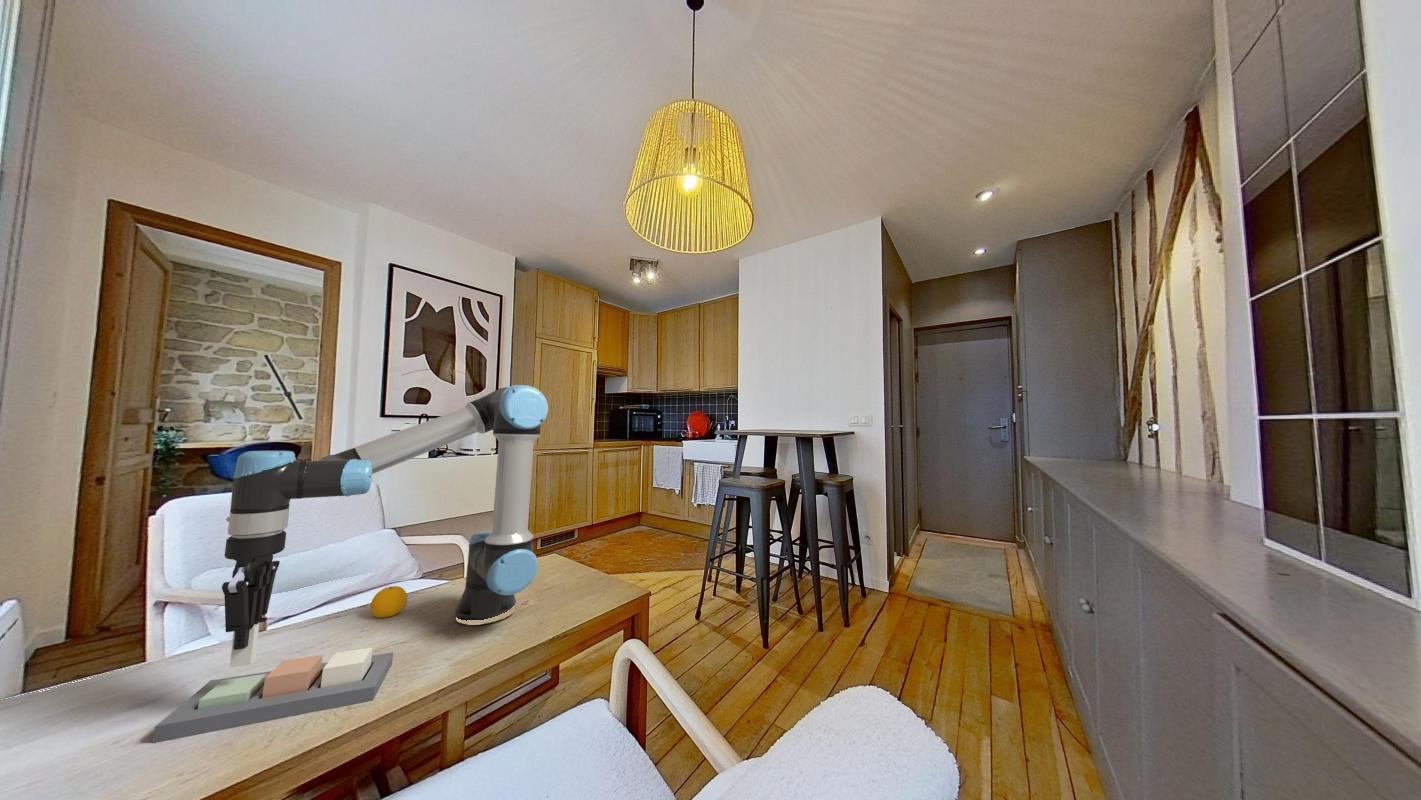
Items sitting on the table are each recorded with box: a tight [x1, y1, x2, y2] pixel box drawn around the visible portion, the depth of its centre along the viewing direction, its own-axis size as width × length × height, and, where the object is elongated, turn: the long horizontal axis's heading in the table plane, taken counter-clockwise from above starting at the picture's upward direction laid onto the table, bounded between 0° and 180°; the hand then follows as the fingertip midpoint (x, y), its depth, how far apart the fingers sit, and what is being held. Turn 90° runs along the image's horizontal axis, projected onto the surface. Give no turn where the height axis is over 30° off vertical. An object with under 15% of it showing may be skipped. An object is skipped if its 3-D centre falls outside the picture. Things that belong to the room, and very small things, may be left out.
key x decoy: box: [262, 654, 324, 698], centre depth 76 cm, size 6×6×4 cm
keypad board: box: [152, 652, 394, 744], centre depth 76 cm, size 28×13×2 cm, turn 116°
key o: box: [198, 674, 267, 709], centre depth 72 cm, size 6×6×4 cm
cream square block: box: [321, 647, 374, 688], centre depth 80 cm, size 6×6×4 cm
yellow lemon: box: [370, 585, 408, 619], centre depth 111 cm, size 8×8×8 cm
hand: (242, 663), depth 73 cm, fingers closed
